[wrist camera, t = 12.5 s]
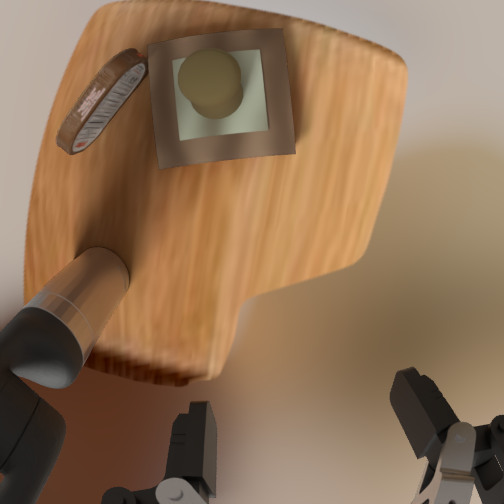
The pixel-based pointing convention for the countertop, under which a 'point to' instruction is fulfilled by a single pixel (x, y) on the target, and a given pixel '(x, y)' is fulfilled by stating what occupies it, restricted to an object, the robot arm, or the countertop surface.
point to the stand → (237, 124)
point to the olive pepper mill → (211, 82)
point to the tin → (101, 100)
